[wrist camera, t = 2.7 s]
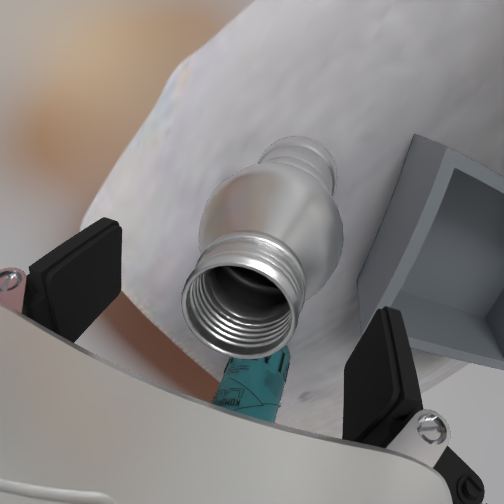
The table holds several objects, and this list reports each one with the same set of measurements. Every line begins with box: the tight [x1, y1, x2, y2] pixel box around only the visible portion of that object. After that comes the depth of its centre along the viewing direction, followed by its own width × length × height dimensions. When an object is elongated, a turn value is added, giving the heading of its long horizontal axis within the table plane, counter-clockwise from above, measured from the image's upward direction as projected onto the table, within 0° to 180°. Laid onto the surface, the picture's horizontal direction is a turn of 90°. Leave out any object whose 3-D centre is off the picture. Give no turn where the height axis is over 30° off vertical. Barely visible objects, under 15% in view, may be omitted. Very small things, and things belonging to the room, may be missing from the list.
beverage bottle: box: [212, 345, 291, 423], centre depth 28 cm, size 6×7×20 cm
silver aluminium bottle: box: [181, 136, 343, 359], centre depth 18 cm, size 6×7×20 cm
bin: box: [357, 134, 504, 370], centre depth 22 cm, size 15×17×8 cm
